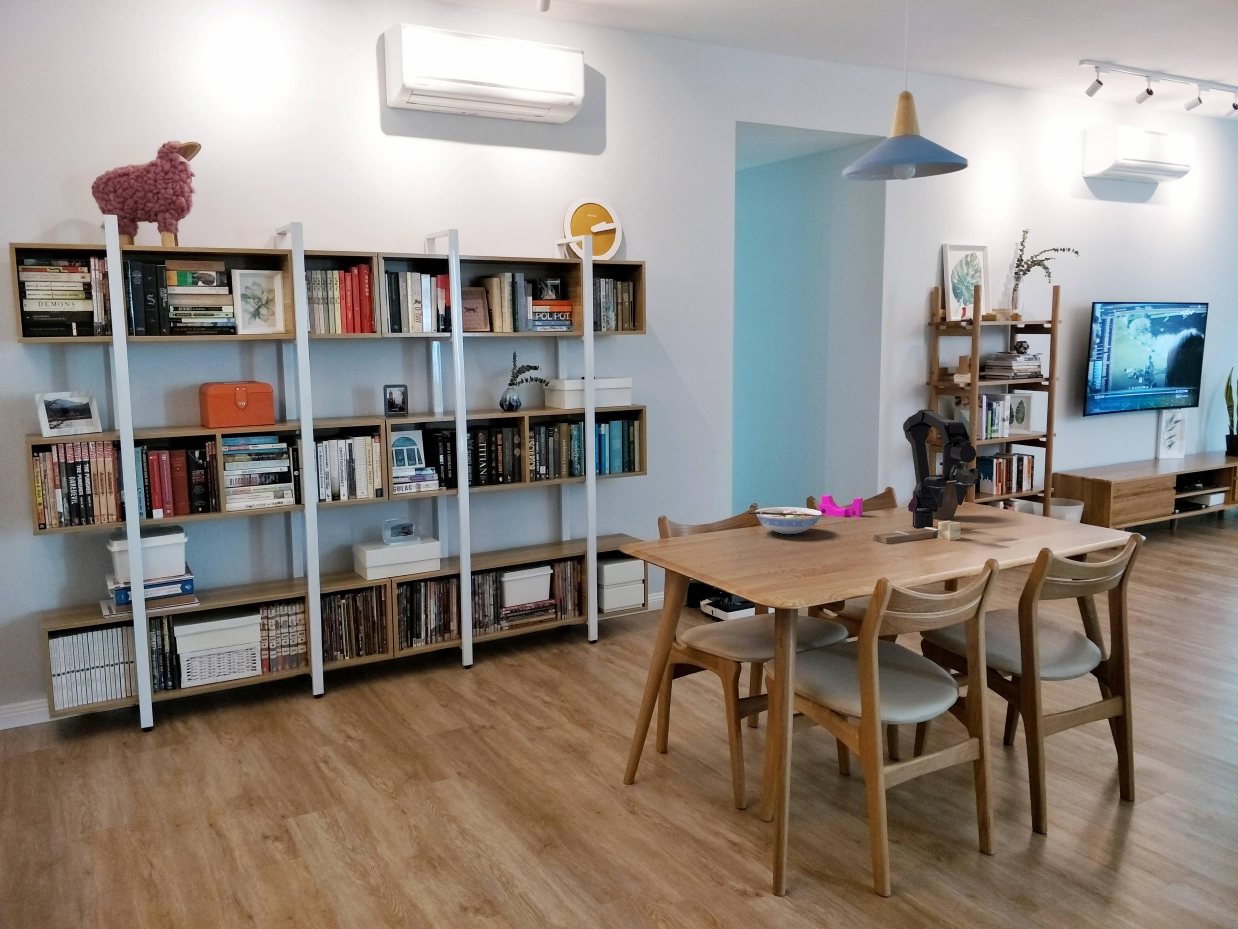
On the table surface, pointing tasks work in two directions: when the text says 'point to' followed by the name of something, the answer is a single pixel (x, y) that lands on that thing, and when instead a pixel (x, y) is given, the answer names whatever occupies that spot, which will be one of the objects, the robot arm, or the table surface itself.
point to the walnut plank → (905, 535)
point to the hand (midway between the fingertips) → (950, 506)
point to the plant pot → (947, 503)
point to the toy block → (834, 510)
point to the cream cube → (948, 530)
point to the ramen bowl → (788, 519)
